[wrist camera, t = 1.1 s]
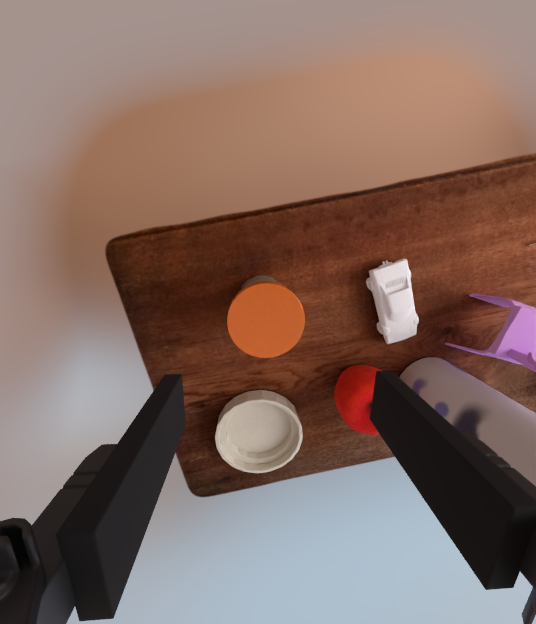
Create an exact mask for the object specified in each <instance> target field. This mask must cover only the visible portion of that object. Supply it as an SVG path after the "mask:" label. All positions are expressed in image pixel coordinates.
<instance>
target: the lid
mask: <svg viewBox="0 0 536 624" xmlns="http://www.w3.org/2000/svg"><path fill="white" fill-rule="evenodd" d="M231 302H232V303H231V305H230V308H229V311H228V316H227V327H228V331H229V334H230V336H231V338H232V340H233V342H234V343H235V344H236V345H237V346H238V347H239V348H240V349H241V350H242V351H244V352H245V353H247V354H249V355H252V356H255V357H260V358H271V357H276V356H279V355H281V354H284V353H285V352H287V351H289V350H290V349H291V348H292V347H293V346H294V345H295V344H296V343H297V342H298V341H299V339H300V337H301V335H302V333H303V330H304V325H305V315H304V310H303V307H302V305H301V303H300V301H299V299H298V298H297V297H296V296H295V295H294V293H293V292H292V291H291V290H290V289H288V288H287V287H286V286H284V285H282V284H280V283H277V282H273V281H258V282H254V283H251V284H249V285H247V286H246V287H244V288H243V289H241V290H240V291H239V292H238V293H237V295H236V296H235V297H234V299H232V301H231Z"/></svg>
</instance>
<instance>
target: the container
mask: <svg viewBox="0 0 536 624" xmlns="http://www.w3.org/2000/svg"><path fill="white" fill-rule="evenodd" d="M399 378H400V379H401V380H402V381H403V382H404V383H406V384H407V385H408V386H409V387H410V388H411V389H412V390H413V391H415V392H416V393H417V394H418V395H419V396H420V397H421V398H422V399H424V400H425V401H426V402H427V403H428V404H429V405H430V406H431V407H433V408H434V409H435V410H436V411H437V412H438V413H439V414H440V415H442V416H443V417H444V418H445V419H446V420H447V421H448V422H449V423H450V424H452V425H453V426H454V427H455V428H456V429H457V430H458V431H459V432H460V431H465V432H467V433H469V434H471V435H472V436H474V437H476V438H477V439H479V440H481V441H483V442H484V443H485V444H486V445H487V446H489V447H490V448H491V449H492V450H493V451H494V452H496V453H497V454H498V456H499V457H502V458H503V459H504V460H505V461H506V462H507V463H509V464H510V466H511V468H515V469H516V470H517V471H518V472H519V473H521V474H522V475H523V476H524V477H525V478H526V479H528V480H529V481H530V482H531V483H532V484H534V485H535V486H536V413H534V412H533V411H531V410H529V409H527V408H526V407H524V406H522V405H521V404H519V403H517V402H516V401H514V400H512V399H510V398H509V397H507V396H505V395H504V394H502V393H500V392H499V391H497V390H495V389H493V388H492V387H490V386H488V385H487V384H485V383H483V382H481V381H480V380H478V379H476V378H475V377H473V376H471V375H470V374H468V373H466V372H464V371H463V370H461V369H459V368H458V367H456V366H454V365H453V364H451V363H449V362H447V361H446V360H444V359H441V358H437V357H428V358H423V359H420V360H418V361H416V362H414V363H412V364H411V365H409V366H408V367H407V368H406V369H405V370H404V371H403V372H402V374H401V375H400V377H399Z"/></svg>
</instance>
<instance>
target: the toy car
mask: <svg viewBox="0 0 536 624" xmlns="http://www.w3.org/2000/svg"><path fill="white" fill-rule="evenodd" d="M369 276H370V277H369V278H368V279H367V280H366V284H367V287H368V289H369V290H371V291H372V293H373V297H374V301H375V306H376V310H377V314H378V318H379V322H378V323H377V329H378V331H379V332H380V334H383V336H384V339H385V341H386V343H387V344H391V343H395V342H398V341H402V340H404V339H407V338H409V337H412V336H414V335H416V332H417V324H418V322H419V318H418V315H417V314H416V312H415V306H414V300H413V293H412V287H411V280H410V278H411V272H410V270H409V268H408V262H407V259H401V260H398V261H396V262H395V263H392V262H388V261H387V260H386V264H385V262H383V265H380V266H378V268H375V269H372V270H370V271H369Z"/></svg>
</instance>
